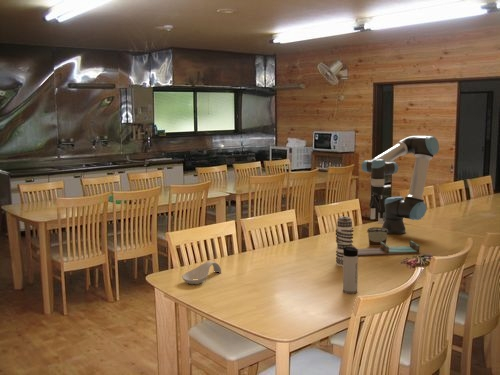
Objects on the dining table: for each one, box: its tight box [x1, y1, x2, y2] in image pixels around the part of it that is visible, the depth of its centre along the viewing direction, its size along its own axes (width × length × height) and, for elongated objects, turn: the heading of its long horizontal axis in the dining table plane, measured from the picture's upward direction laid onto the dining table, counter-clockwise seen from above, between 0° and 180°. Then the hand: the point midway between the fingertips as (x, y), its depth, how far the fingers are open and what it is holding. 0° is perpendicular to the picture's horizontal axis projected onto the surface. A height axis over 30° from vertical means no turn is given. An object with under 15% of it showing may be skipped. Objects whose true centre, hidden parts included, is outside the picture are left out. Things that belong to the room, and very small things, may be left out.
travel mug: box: [342, 247, 359, 295], centre depth 221 cm, size 6×7×20 cm
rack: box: [352, 240, 421, 257], centre depth 283 cm, size 12×36×5 cm, turn 95°
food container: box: [366, 226, 388, 247], centre depth 300 cm, size 12×6×10 cm, turn 84°
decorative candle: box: [335, 215, 355, 268], centre depth 260 cm, size 9×9×25 cm
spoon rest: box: [181, 261, 222, 285], centre depth 242 cm, size 24×12×7 cm, turn 147°
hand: (376, 221), depth 298 cm, fingers open, 13 cm apart
